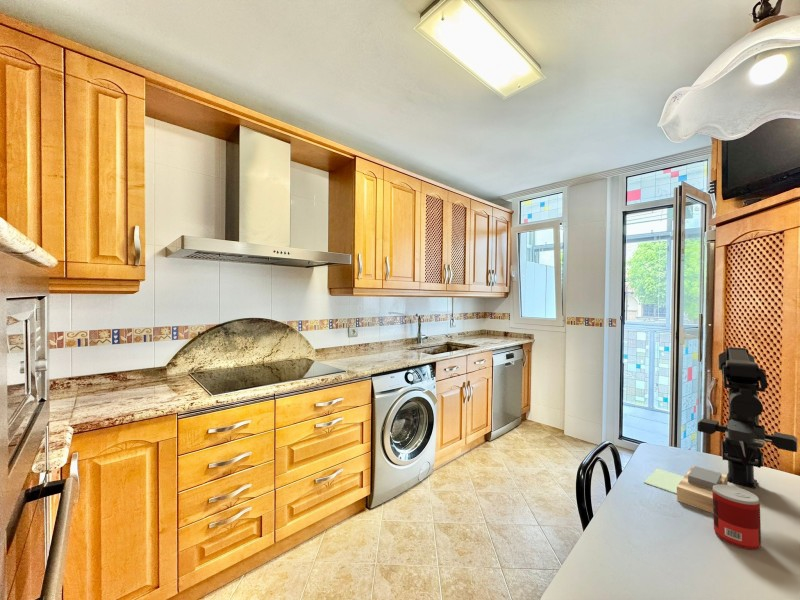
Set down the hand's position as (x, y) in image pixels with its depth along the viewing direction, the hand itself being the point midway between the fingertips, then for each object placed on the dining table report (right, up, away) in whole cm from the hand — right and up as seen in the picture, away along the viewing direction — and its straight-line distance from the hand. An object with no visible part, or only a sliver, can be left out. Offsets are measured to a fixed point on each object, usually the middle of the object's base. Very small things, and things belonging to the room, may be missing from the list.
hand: (745, 464), depth 91 cm
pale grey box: (-5, -8, +6) cm, 12 cm away
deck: (-6, -12, +7) cm, 15 cm away
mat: (-10, -12, +14) cm, 21 cm away
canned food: (-15, -12, -12) cm, 23 cm away
